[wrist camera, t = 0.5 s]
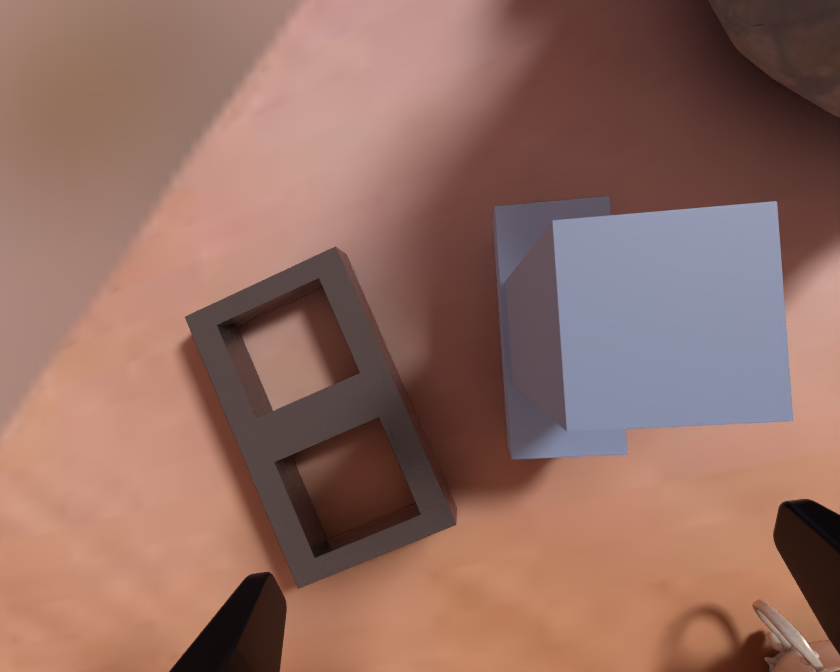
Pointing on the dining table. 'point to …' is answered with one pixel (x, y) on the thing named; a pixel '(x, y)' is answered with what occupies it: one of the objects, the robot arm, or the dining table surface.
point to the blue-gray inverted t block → (637, 322)
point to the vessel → (789, 43)
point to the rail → (320, 420)
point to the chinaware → (794, 645)
